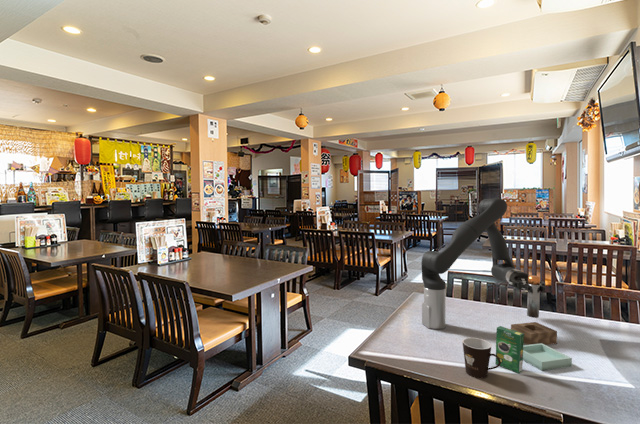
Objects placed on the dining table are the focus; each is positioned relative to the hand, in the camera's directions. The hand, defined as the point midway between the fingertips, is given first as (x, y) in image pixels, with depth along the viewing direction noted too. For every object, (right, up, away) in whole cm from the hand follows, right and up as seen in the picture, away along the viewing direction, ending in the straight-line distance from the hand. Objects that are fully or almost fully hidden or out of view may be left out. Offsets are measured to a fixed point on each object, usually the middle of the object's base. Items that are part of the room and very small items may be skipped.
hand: (537, 289), depth 132 cm
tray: (-7, -22, -13) cm, 27 cm away
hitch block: (+1, -21, +4) cm, 21 cm away
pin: (0, -11, +3) cm, 12 cm away
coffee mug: (-34, -23, -23) cm, 47 cm away
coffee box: (-21, -22, -18) cm, 36 cm away
